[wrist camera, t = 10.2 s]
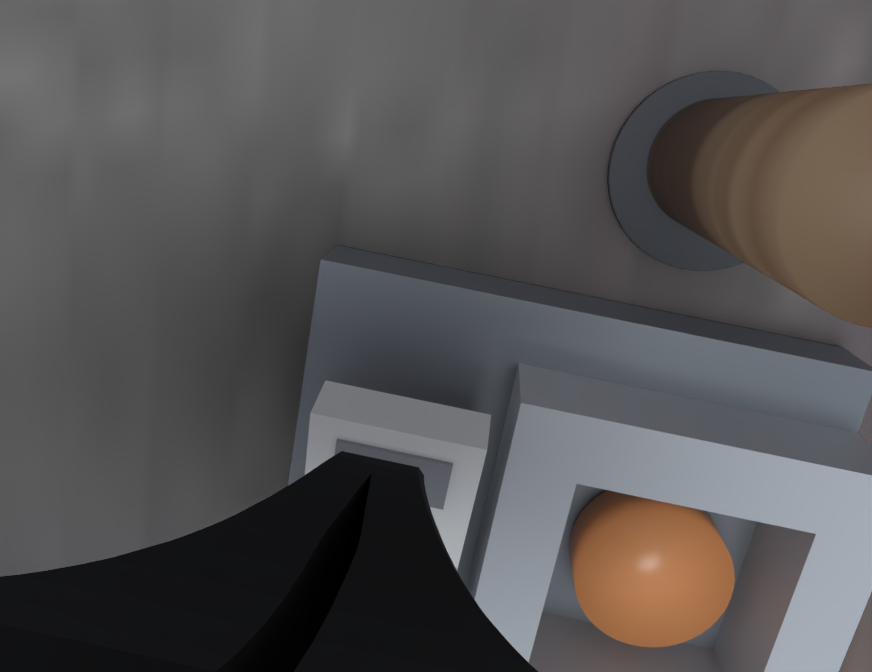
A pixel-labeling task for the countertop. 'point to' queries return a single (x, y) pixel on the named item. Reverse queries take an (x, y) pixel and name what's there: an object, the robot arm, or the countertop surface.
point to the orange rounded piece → (649, 569)
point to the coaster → (630, 171)
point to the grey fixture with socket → (621, 451)
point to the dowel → (778, 187)
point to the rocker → (407, 446)
